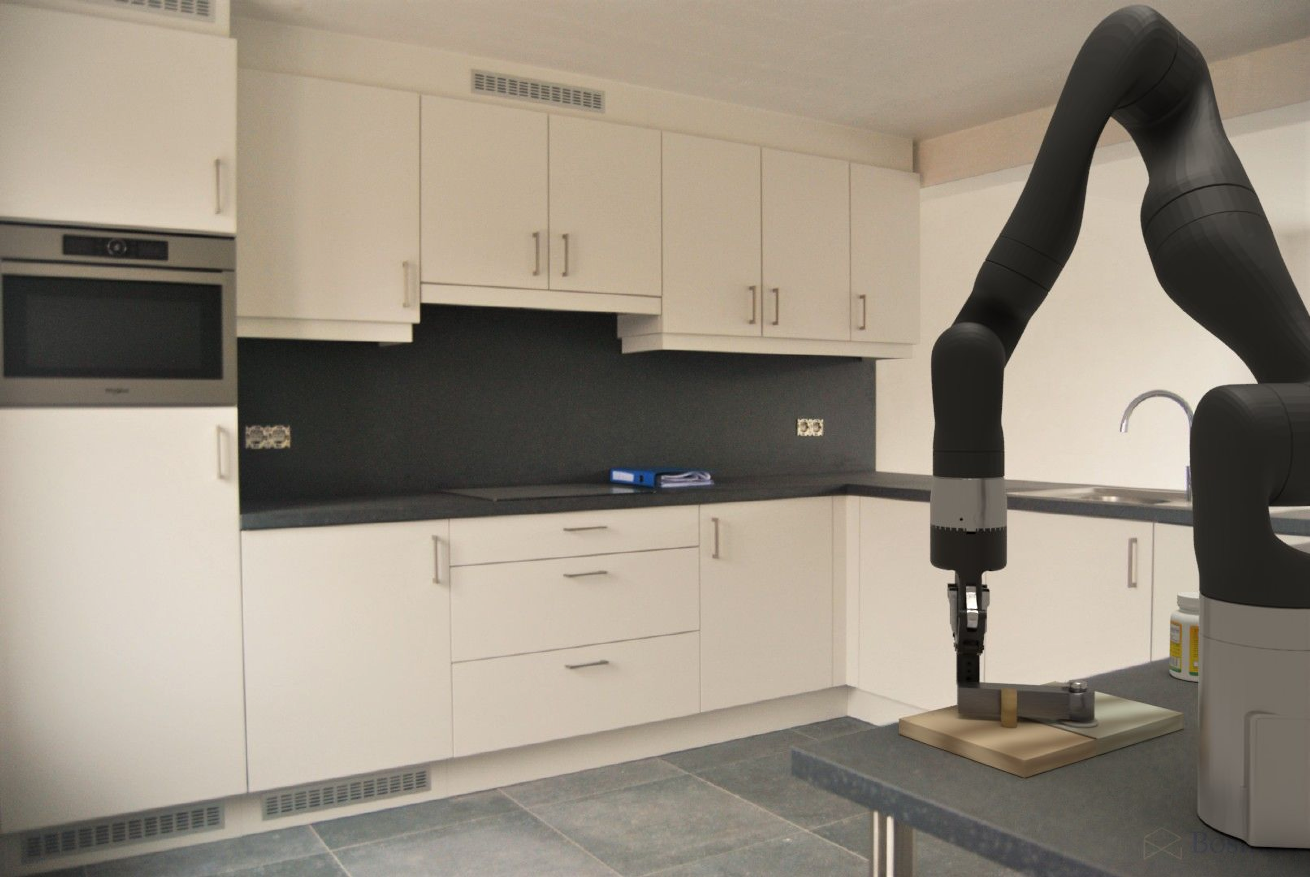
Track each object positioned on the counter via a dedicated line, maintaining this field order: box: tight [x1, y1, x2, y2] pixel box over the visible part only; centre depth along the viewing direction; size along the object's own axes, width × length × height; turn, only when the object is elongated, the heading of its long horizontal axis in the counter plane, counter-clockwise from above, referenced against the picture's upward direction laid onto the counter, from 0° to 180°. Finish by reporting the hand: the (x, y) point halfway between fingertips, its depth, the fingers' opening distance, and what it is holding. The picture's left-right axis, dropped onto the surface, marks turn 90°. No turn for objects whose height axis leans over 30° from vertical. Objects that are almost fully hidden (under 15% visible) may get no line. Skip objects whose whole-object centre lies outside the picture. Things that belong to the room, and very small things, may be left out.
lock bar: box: [956, 679, 1096, 721], centre depth 101 cm, size 12×3×3 cm, turn 77°
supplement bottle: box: [1168, 591, 1200, 683], centre depth 122 cm, size 5×5×10 cm
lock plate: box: [898, 680, 1184, 779], centre depth 102 cm, size 14×24×5 cm, turn 123°
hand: (967, 689), depth 107 cm, fingers closed
